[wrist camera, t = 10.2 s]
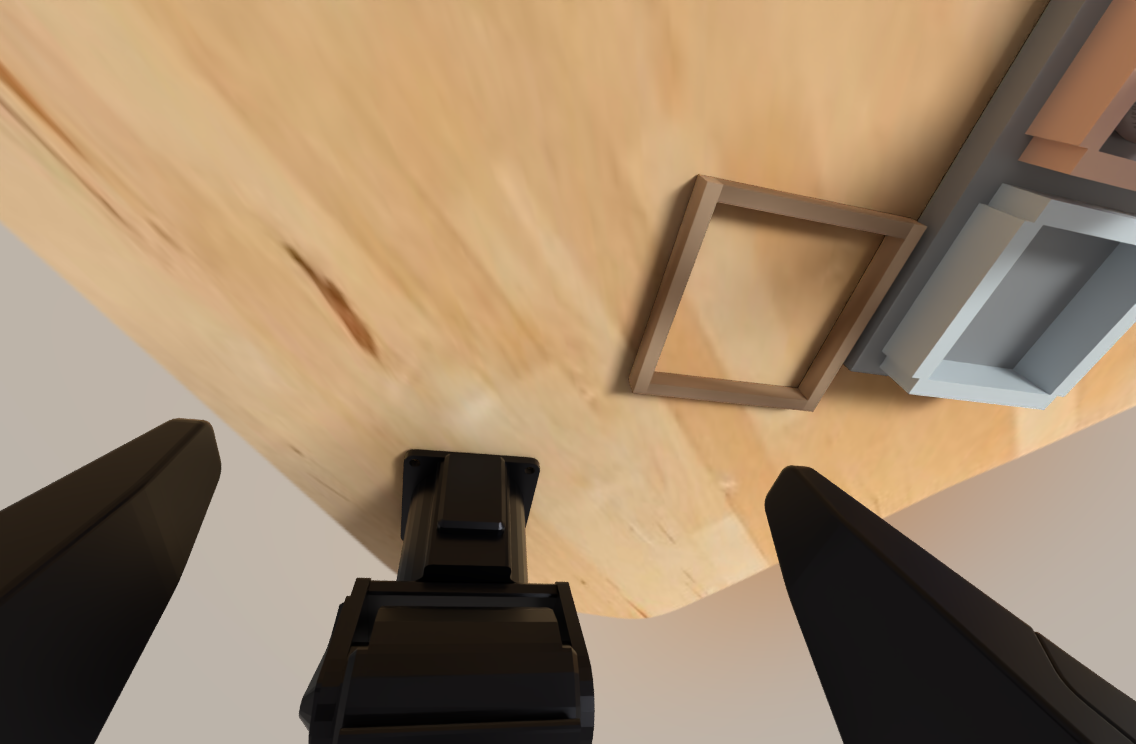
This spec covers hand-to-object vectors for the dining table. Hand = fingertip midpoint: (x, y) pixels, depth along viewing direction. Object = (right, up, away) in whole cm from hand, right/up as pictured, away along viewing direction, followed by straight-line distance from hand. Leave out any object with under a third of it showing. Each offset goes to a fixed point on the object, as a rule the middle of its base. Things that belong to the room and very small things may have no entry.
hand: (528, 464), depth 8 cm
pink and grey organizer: (+20, +9, +12) cm, 25 cm away
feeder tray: (+9, +4, +14) cm, 17 cm away
